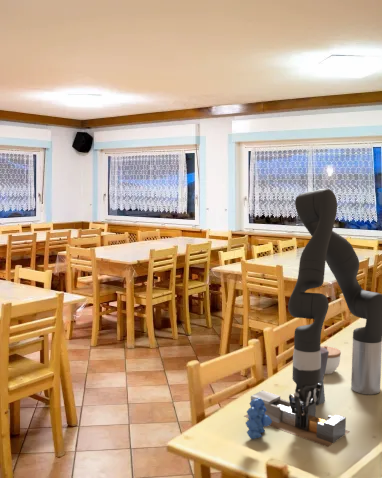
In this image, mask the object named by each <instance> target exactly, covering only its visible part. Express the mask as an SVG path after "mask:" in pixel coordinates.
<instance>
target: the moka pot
mask: <svg viewBox="0 0 382 478" xmlns="http://www.w3.org/2000/svg"><path fill="white" fill-rule="evenodd" d="M320 352H321V379H320V383H319V384H322V391H321V396H320V402H319V405H321V404H324V403H325V402H326V397H325V395H326V394H325V384H324V376H325V375H326V374H325V371H326V364H327V359H328V353H329V352H328V351H327V349H326V348H323V347H320ZM316 392H317V391H316ZM316 398H317V396H316Z"/></svg>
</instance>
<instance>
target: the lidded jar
mask: <svg viewBox="0 0 382 478" xmlns="http://www.w3.org/2000/svg"><path fill="white" fill-rule="evenodd" d="M320 347H323V348H326V349H327V351H328V352H329V353H328V359H327V364H326V371H325V374H324V375H328V374H329V375H330V374H333V373H335V371H336V370H337V368H338V367H339V365H340V362H341V350H339V348H336V347H333V346H328V345H324V346H322V345H320Z"/></svg>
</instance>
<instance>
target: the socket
mask: <svg viewBox="0 0 382 478" xmlns="http://www.w3.org/2000/svg"><path fill="white" fill-rule="evenodd" d="M346 422H347V417H346V416H342V415H341V414H340V415H339V414H337V413H336V414H335V415H331V414H329V415H327V420H326V421H325V422H324V423H321V422H318V423H317V437H316V438H319V439H322V440H325V441H328V442H330V443H333V444H335V443H336V442H337V441H339V440H340V439H341V438H343V437H345V436H346V435H345V430H347V429H346V428H347V426H346ZM338 439H339V440H338Z"/></svg>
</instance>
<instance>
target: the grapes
mask: <svg viewBox="0 0 382 478" xmlns="http://www.w3.org/2000/svg"><path fill="white" fill-rule="evenodd" d="M249 405H250V407H249V408H248V409H247V410H246V413H247V414H248V415H249V417H248V418H247V419H248V420H247V421H246V422H245V425H246V427H247V428H248V429H247V431H246V433H247V435H248V437H249V439H251V440H254V439H258V438H262V437H263V436H262V435H263V433H265V432H266V431H265V427H268V426H269V425H270V424H271V423H272V420H271V419H270V417H269V416H268V415H265V412H266V408H265V406H264V402H263V400H262V399H261V398H256V399H253V400H252V401H251V400H250V402H249ZM247 414H246V415H247Z"/></svg>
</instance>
